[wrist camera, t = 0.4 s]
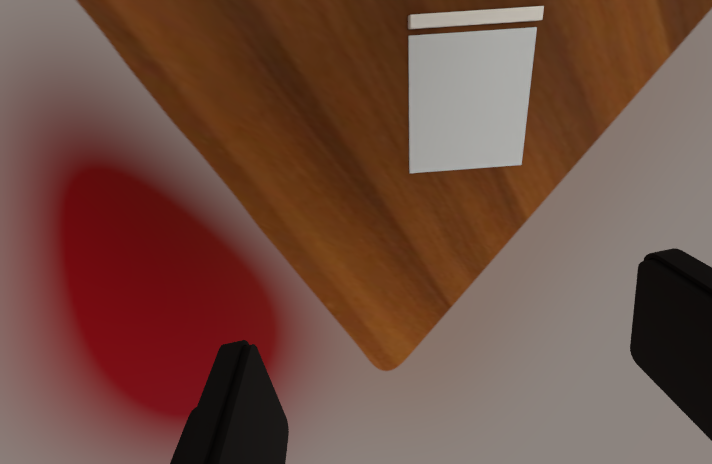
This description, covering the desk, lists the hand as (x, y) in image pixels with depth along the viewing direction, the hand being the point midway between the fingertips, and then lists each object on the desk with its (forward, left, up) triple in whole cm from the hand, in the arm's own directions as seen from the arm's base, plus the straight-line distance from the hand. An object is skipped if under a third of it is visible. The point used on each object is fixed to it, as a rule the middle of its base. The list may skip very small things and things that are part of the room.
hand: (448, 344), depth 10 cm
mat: (-2, +10, -30) cm, 31 cm away
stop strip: (-9, +10, -30) cm, 33 cm away
